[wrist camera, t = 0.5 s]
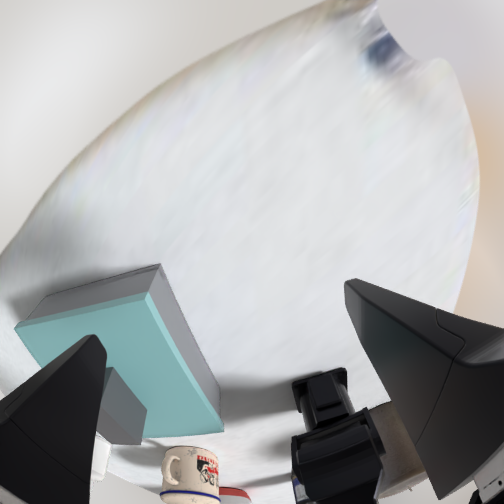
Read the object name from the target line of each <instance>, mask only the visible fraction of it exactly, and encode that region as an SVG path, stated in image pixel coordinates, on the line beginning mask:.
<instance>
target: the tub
mask: <svg viewBox="0 0 504 504" xmlns="http://www.w3.org/2000/svg"><path fill="white" fill-rule="evenodd" d="M147 291H148V292H149V294H150V296H151V298H152V300H153V302H154V304H155V306H156V308H157V310H158V312H159V314H160V316H161V318H162V320H163V322H164V324H165V326H166V328H167V330H168V332H169V334H170V336H171V337H172V339H173V341H174V343H175V345H176V347H177V348H178V350H179V352H180V354H181V356H182V357H183V359H184V361H185V363H186V364H187V366H188V368H189V370H190V371H191V373H192V375H193V376H194V378H195V380H196V381H197V383H198V385H199V386H200V388H201V390H202V391H203V393H204V394H205V396H206V398H207V399H208V401H209V402H210V404H211V405H212V407H213V408H214V410H215V411H216V413H217V415H218V416H219V418H220V387H219V385H218V383H217V381H216V379H215V377H214V376H213V374H212V372H211V370H210V368H209V366H208V364H207V362H206V360H205V358H204V356H203V354H202V352H201V351H200V349H199V347H198V345H197V343H196V341H195V338H194V336H193V334H192V332H191V330H190V328H189V326H188V324H187V322H186V320H185V318H184V316H183V313H182V311H181V309H180V307H179V305H178V302H177V300H176V298H175V296H174V294H173V291H172V289H171V287H170V284H169V282H168V280H167V277H166V275H165V273H164V270H163V268H162V266H161V264H157V265H154V266H150V267H147V268H143V269H139V270H136V271H132V272H129V273H125V274H122V275H118V276H115V277H111V278H108V279H104V280H101V281H97V282H94V283H90V284H87V285H83V286H80V287H76V288H73V289H69V290H66V291H62V292H59V293H56V294H52V295H49V296H46V297H45V298H44V299H43V300H42V301H41V302H40V304H39V305H38V306H37V307H36V308H35V310H34V311H33V312H32V313H31V314H30V316H29V317H28V318H27V319H26V321H27V320H31V319H35V318H40V317H44V316H48V315H53V314H57V313H61V312H65V311H69V310H74V309H78V308H82V307H86V306H90V305H94V304H99V303H103V302H107V301H111V300H115V299H119V298H123V297H127V296H131V295H135V294H139V293H143V292H147Z"/></svg>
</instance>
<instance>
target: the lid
mask: <svg viewBox="0 0 504 504" xmlns="http://www.w3.org/2000/svg"><path fill="white" fill-rule="evenodd" d="M14 330H15V331H16V333H17V334H18V336H19V337H20V339H21V340H22V342H23V343H24V345H25V346H26V348H27V349H28V351H29V352H30V353H31V355H32V356H33V357H34V359H35V360H36V361H37V363H38V364H39V365H40V367H41V368H43V367H45V366H46V365H47V364H48V363H50V362H51V361H52V360H54V359H55V358H56V357H58V356H59V355H60V354H61V353H63V352H64V351H65V350H67V349H68V348H69V347H71V346H72V345H73V344H75V343H76V342H77V341H79V340H80V339H81V338H83V337H84V336H85V335H89V334H95V335H97V336H98V338H99V339H100V341H101V343H102V344H103V346H104V348H105V349H106V351H107V363H106V371H105V380H104V389H103V395H102V400H101V405H100V411H99V417H98V423H97V429H96V431H97V432H98V433H99V434H101V435H102V436H103V437H104V438H105V439H106V440H107V441H108V442H110V443H111V444H119V445H141V441H142V438H161V437H180V436H192V435H203V434H212V433H220V432H224V423H223V422H222V421H221V419H220V418H219V416H218V415H217V413H216V411H215V410H214V408H213V407H212V405H211V404H210V402H209V401H208V399H207V398H206V396H205V394H204V393H203V391H202V390H201V388H200V386H199V385H198V383H197V381H196V380H195V378H194V376H193V375H192V373H191V371H190V370H189V368H188V366H187V364H186V363H185V361H184V359H183V357H182V356H181V354H180V352H179V350H178V348H177V347H176V345H175V343H174V341H173V339H172V337H171V336H170V334H169V332H168V330H167V328H166V326H165V324H164V322H163V320H162V318H161V316H160V314H159V312H158V310H157V308H156V306H155V304H154V302H153V300H152V298H151V296H150V294H149V292H148V291H147V292H143V293H139V294H135V295H131V296H127V297H123V298H119V299H115V300H111V301H107V302H103V303H99V304H94V305H90V306H86V307H82V308H78V309H74V310H69V311H65V312H61V313H57V314H53V315H48V316H44V317H40V318H35V319H31V320H27V321H22V322H19V323H18V324H17V325H16V327H15V328H14Z"/></svg>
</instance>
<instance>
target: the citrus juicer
mask: <svg viewBox="0 0 504 504" xmlns="http://www.w3.org/2000/svg"><path fill="white" fill-rule="evenodd" d="M219 498H220V500H221V502H220V504H252V502H251V499H250V498H249V496H248V495H247V493H246V492H245V491H242V490H238V489H231V488H222V487H219Z"/></svg>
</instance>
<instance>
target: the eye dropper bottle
mask: <svg viewBox="0 0 504 504" xmlns="http://www.w3.org/2000/svg"><path fill="white" fill-rule="evenodd" d="M111 449H112V444H111V443H110V442H108V441H107V440H105V439H103V438H101V437H99V436H97V435H96V436H95V443H94V451H93V460H92V470H91V481H90V492H92V488H93V484H94V482H93V481H97V482H100V481H103V480H104V478H105V475H106V471H107V467H108V462H109V458H110V453H111Z"/></svg>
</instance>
